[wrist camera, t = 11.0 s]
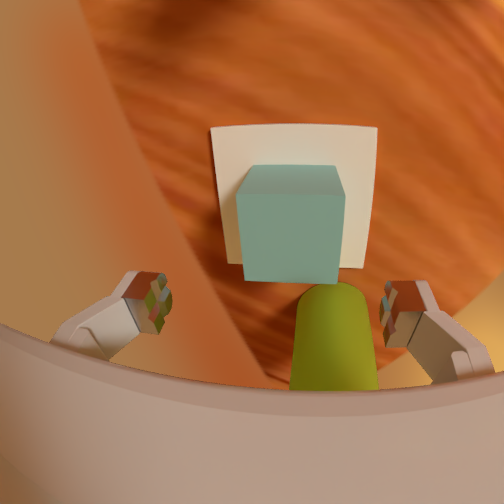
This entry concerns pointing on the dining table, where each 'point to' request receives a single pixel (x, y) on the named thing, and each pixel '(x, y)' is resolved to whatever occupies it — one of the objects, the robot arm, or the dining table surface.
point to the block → (291, 223)
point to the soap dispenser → (333, 341)
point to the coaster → (299, 153)
